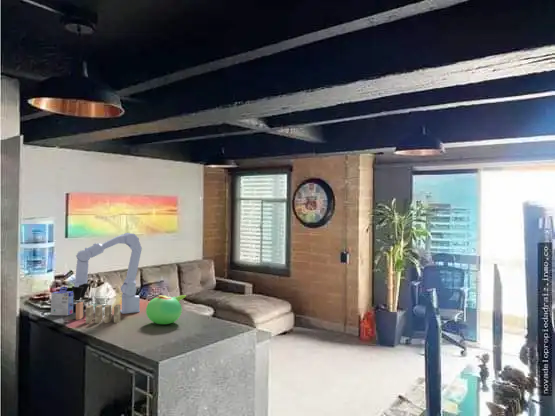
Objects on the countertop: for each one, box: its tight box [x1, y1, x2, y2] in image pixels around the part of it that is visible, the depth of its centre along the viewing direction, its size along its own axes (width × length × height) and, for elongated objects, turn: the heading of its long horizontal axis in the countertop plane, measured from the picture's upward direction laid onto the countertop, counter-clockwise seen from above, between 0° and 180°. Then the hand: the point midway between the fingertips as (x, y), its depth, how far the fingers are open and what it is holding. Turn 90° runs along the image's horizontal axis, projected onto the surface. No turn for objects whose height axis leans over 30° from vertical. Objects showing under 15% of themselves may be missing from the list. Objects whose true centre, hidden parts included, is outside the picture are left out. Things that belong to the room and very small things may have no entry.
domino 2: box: [85, 304, 94, 324], centre depth 212 cm, size 2×5×8 cm, turn 7°
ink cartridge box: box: [50, 286, 74, 316], centre depth 227 cm, size 10×6×14 cm, turn 89°
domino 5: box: [113, 304, 121, 324], centre depth 214 cm, size 2×5×8 cm, turn 7°
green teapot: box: [145, 294, 187, 325], centre depth 210 cm, size 18×17×15 cm
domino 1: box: [75, 301, 84, 321], centre depth 219 cm, size 2×5×8 cm, turn 7°
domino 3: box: [94, 304, 103, 324], centre depth 213 cm, size 2×5×8 cm, turn 7°
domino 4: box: [104, 304, 112, 324], centre depth 213 cm, size 2×5×8 cm, turn 7°
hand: (79, 298), depth 219 cm, fingers open, 7 cm apart
